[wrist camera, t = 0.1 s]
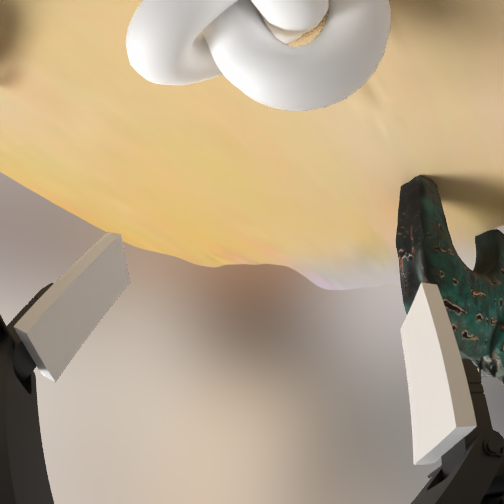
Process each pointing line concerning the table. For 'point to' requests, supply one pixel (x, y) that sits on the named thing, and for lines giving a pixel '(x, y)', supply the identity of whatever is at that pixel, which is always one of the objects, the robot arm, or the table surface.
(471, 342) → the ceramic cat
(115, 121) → the table surface
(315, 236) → the table surface
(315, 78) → the white knot sculpture
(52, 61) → the table surface
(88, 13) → the table surface
